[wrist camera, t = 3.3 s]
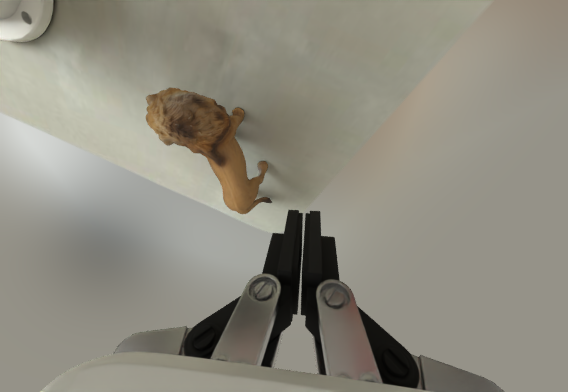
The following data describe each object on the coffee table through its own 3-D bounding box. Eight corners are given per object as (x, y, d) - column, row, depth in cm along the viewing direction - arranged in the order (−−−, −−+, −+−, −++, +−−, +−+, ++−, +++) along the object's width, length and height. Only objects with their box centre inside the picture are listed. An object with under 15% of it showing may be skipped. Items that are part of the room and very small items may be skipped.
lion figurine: (181, 96, 22) (110, 114, 14) (222, 69, 20) (167, 71, 12) (255, 206, 28) (234, 259, 20) (291, 192, 26) (283, 245, 19)
